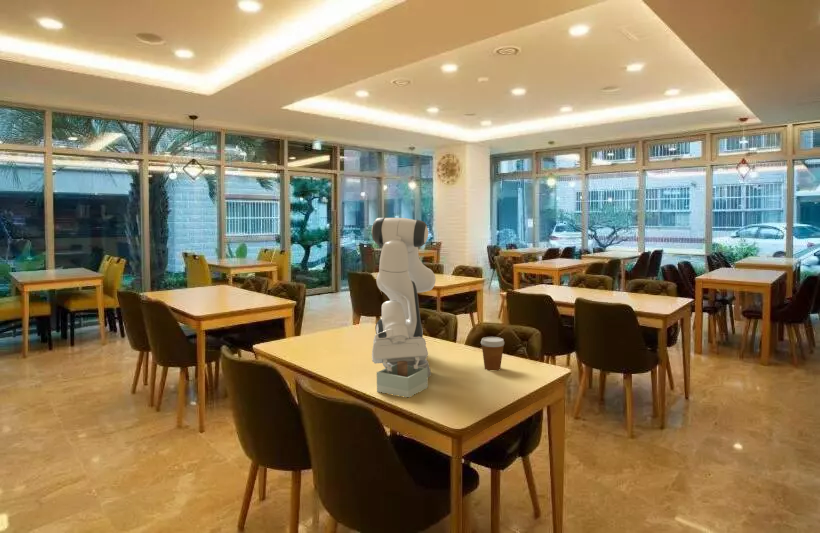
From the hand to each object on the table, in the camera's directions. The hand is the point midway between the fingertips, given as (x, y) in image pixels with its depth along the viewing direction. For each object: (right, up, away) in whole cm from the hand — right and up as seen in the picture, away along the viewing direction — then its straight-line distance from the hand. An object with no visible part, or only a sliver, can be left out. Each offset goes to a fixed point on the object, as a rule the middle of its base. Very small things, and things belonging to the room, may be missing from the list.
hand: (402, 371), depth 185 cm
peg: (0, -7, +1) cm, 7 cm away
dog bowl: (+2, -6, +20) cm, 21 cm away
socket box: (0, -7, +1) cm, 7 cm away
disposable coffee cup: (+36, -4, +26) cm, 44 cm away
